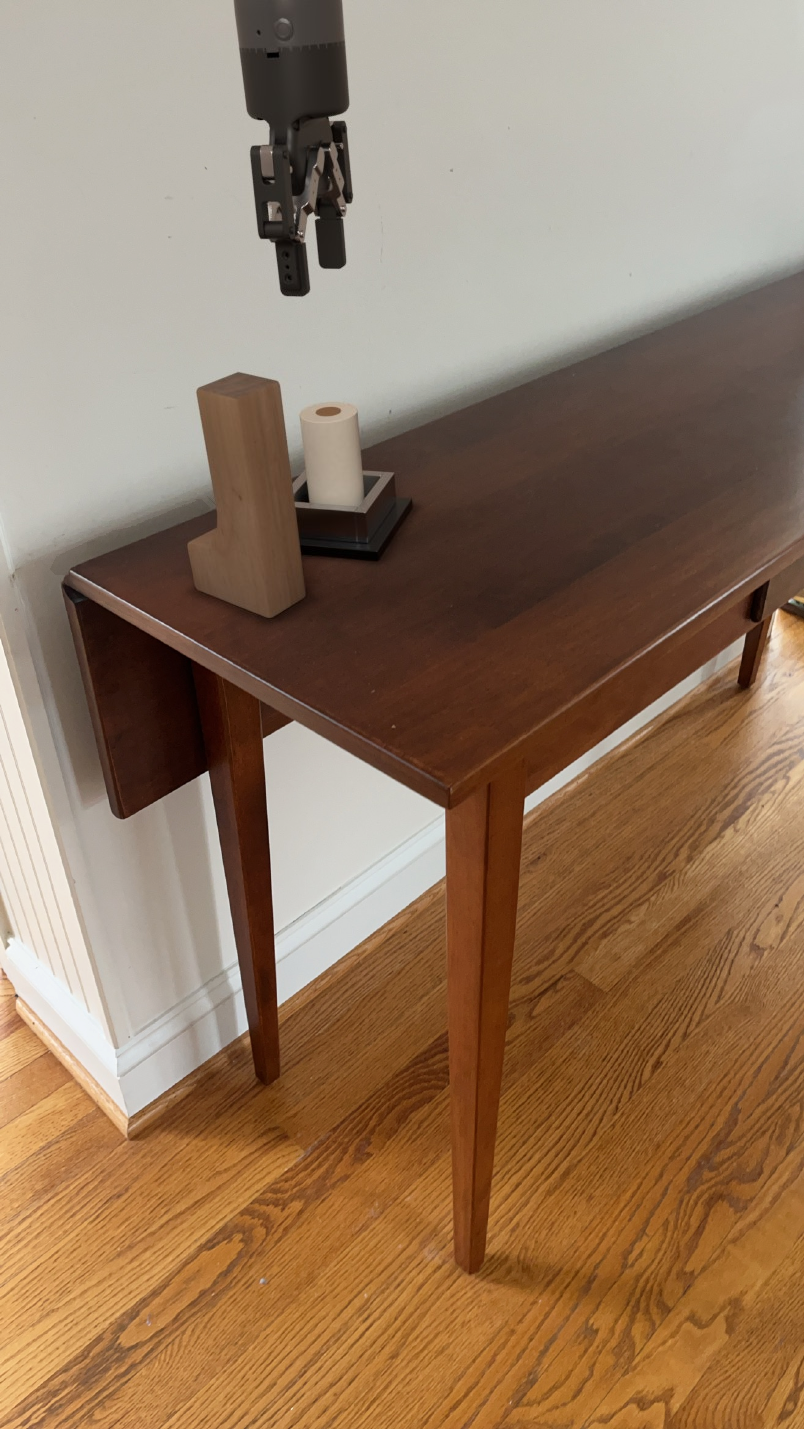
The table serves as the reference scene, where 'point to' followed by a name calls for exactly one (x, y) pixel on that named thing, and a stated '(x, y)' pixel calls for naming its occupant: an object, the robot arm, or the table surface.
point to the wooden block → (248, 499)
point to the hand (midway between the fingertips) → (315, 281)
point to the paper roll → (332, 454)
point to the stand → (351, 520)
